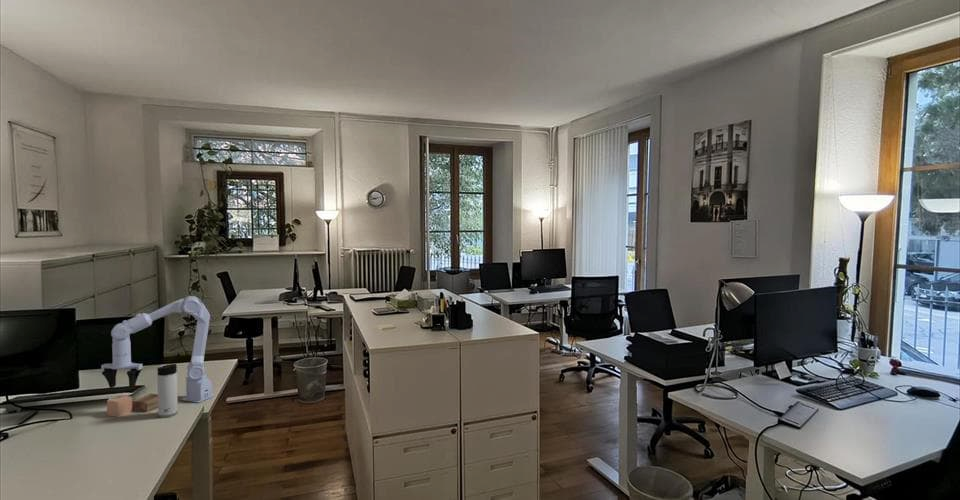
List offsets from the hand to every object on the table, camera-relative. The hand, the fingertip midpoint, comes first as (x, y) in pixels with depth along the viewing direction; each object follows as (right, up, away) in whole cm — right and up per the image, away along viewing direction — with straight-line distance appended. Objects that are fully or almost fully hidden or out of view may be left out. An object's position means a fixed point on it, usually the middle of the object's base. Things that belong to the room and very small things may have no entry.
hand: (122, 387), depth 179 cm
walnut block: (+8, -10, +4) cm, 13 cm away
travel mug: (+20, -10, -3) cm, 23 cm away
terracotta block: (+1, -10, -2) cm, 10 cm away
